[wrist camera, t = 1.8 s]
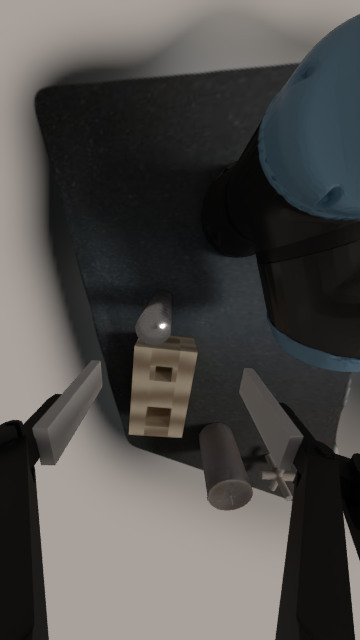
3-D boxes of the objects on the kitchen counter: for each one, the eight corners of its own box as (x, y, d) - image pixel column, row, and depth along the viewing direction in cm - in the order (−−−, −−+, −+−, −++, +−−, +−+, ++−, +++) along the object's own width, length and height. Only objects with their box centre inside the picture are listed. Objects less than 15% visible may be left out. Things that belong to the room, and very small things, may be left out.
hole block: (141, 332, 38) (134, 346, 32) (193, 338, 39) (197, 352, 33) (135, 409, 45) (128, 434, 38) (180, 412, 46) (181, 437, 39)
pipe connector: (277, 468, 54) (300, 511, 45) (247, 466, 53) (264, 509, 44) (288, 445, 51) (315, 486, 42) (257, 442, 50) (277, 483, 41)
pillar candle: (235, 442, 50) (260, 512, 36) (203, 451, 50) (215, 523, 36) (227, 417, 47) (251, 483, 33) (194, 427, 48) (203, 495, 33)
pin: (154, 289, 36) (136, 310, 19) (173, 291, 36) (173, 314, 19) (152, 307, 37) (134, 343, 20) (170, 309, 37) (168, 347, 20)
